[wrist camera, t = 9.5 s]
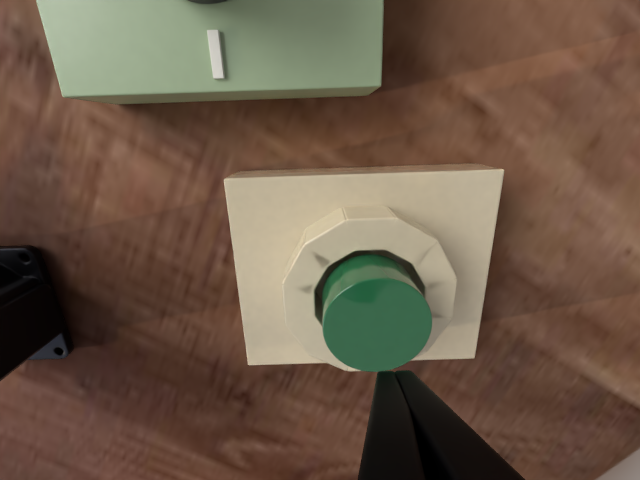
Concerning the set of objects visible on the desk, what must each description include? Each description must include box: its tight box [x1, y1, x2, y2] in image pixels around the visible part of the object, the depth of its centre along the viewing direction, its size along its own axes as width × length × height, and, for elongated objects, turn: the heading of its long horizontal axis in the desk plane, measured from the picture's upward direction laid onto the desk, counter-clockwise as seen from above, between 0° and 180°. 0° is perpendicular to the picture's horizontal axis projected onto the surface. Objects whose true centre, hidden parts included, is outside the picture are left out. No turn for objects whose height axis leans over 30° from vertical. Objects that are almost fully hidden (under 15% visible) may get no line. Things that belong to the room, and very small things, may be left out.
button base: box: [224, 163, 504, 371], centre depth 14 cm, size 11×9×4 cm
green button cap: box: [322, 254, 432, 372], centre depth 11 cm, size 4×4×2 cm
